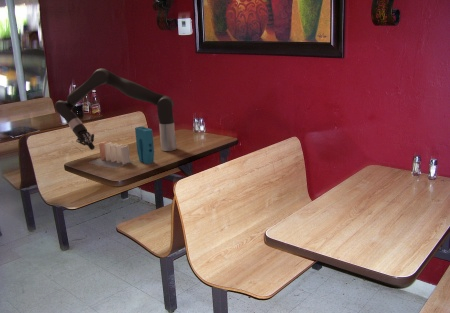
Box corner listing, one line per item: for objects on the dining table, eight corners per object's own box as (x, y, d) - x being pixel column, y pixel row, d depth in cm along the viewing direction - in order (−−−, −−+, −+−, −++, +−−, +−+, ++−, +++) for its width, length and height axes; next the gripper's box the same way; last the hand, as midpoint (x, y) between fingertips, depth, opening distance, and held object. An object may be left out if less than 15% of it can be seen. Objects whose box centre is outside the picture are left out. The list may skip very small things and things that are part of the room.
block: (155, 163, 265) (153, 129, 259) (148, 165, 262) (145, 131, 256) (144, 159, 274) (142, 126, 268) (137, 160, 271) (134, 127, 265)
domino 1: (106, 160, 272) (104, 144, 269) (112, 158, 276) (110, 142, 273) (107, 160, 271) (105, 144, 269) (113, 158, 275) (112, 142, 272)
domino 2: (111, 161, 270) (109, 145, 267) (117, 159, 274) (116, 143, 271) (112, 162, 269) (111, 145, 266) (119, 159, 273) (117, 143, 270)
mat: (86, 163, 269) (86, 162, 269) (106, 156, 281) (106, 156, 281) (114, 169, 257) (114, 168, 257) (133, 162, 269) (133, 161, 268)
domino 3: (116, 162, 267) (115, 146, 264) (123, 160, 271) (121, 144, 268) (118, 163, 267) (116, 146, 264) (124, 160, 270) (122, 144, 268)
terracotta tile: (100, 159, 275) (99, 143, 272) (107, 157, 279) (105, 141, 276) (102, 159, 274) (100, 143, 271) (108, 157, 278) (106, 141, 275)
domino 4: (122, 164, 265) (120, 147, 262) (128, 161, 269) (127, 145, 266) (123, 164, 264) (122, 147, 261) (130, 162, 268) (128, 145, 265)
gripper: (70, 125, 276) (86, 147, 273) (88, 121, 286) (104, 142, 283) (66, 133, 280) (82, 155, 277) (83, 128, 291) (99, 149, 288)
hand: (93, 148), depth 280 cm, fingers closed
